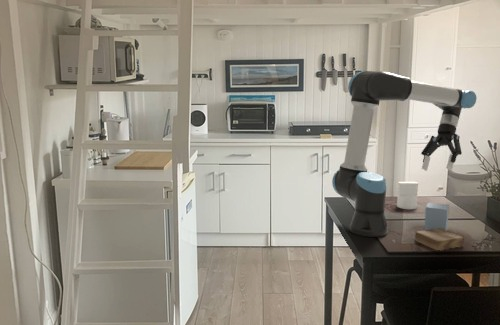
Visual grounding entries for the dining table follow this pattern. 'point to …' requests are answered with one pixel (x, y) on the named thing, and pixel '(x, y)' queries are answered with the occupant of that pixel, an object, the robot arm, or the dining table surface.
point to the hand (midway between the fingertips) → (436, 169)
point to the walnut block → (439, 239)
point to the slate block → (436, 216)
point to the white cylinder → (407, 195)
